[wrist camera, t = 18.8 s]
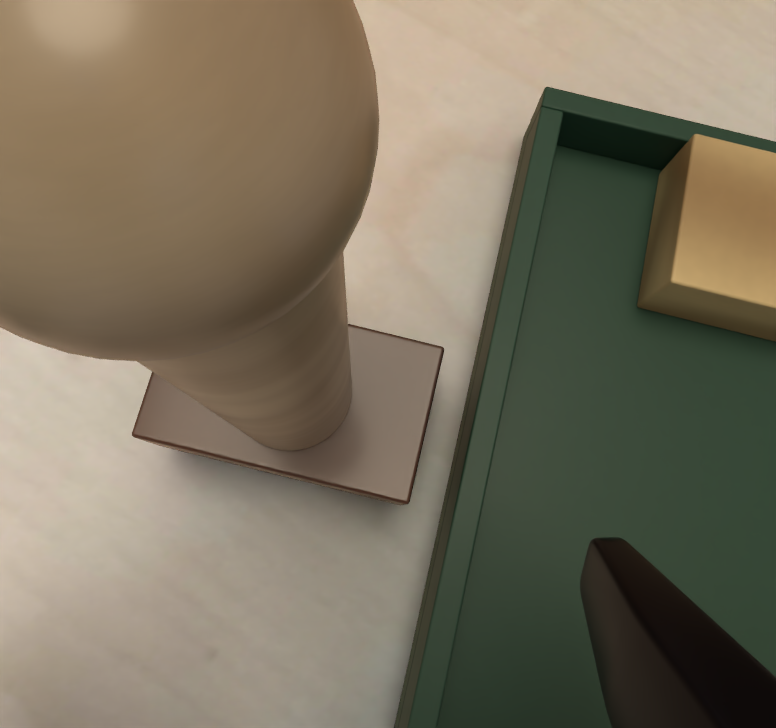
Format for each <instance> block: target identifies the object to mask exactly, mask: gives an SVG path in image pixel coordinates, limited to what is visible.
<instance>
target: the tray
mask: <svg viewBox="0 0 776 728" xmlns="http://www.w3.org/2000/svg"><path fill="white" fill-rule="evenodd" d="M694 134H699V135H703V136H707V137H712V138H716V139H720V140H724V141H728V142H732V143H736V144H740V145H744V146H748V147H752V148H756V149H761V150H765V151H769V152H773V153H776V142H774V141H770V140H766V139H762V138H758V137H753V136H749V135H745V134H741V133H737V132H733V131H729V130H724V129H720V128H716V127H712V126H708V125H704V124H700V123H695V122H691V121H687V120H683V119H679V118H675V117H671V116H666V115H662V114H658V113H654V112H650V111H646V110H642V109H637V108H633V107H629V106H625V105H621V104H617V103H613V102H608V101H604V100H600V99H596V98H592V97H588V96H584V95H579V94H575V93H571V92H567V91H563V90H559V89H554V88H550V87H546V88H545V89H544V91H543V94H542V96H541V98H540V100H539V103H538V105H537V107H536V110H535V112H534V114H533V117H532V119H531V122H530V124H529V126H528V128H527V131H526V133H525V135H524V139H523V143H522V148H521V152H520V157H519V161H518V166H517V171H516V175H515V180H514V184H513V189H512V193H511V198H510V202H509V207H508V212H507V216H506V221H505V225H504V230H503V234H502V239H501V243H500V248H499V253H498V257H497V262H496V266H495V271H494V275H493V280H492V284H491V289H490V293H489V298H488V303H487V307H486V312H485V316H484V321H483V325H482V330H481V334H480V339H479V344H478V348H477V353H476V357H475V362H474V366H473V371H472V375H471V380H470V385H469V389H468V394H467V398H466V403H465V407H464V412H463V416H462V421H461V426H460V430H459V435H458V439H457V444H456V448H455V453H454V457H453V462H452V467H451V471H450V476H449V480H448V485H447V489H446V494H445V498H444V503H443V508H442V512H441V517H440V521H439V526H438V530H437V535H436V539H435V544H434V548H433V553H432V558H431V562H430V567H429V571H428V576H427V580H426V585H425V589H424V594H423V599H422V603H421V608H420V612H419V617H418V621H417V626H416V630H415V635H414V640H413V644H412V649H411V653H410V658H409V662H408V667H407V671H406V676H405V681H404V685H403V690H402V694H401V699H400V703H399V708H398V712H397V717H396V722H395V726H394V728H612V726H611V723H610V720H609V716H608V713H607V710H606V706H605V702H604V698H603V694H602V690H601V685H600V681H599V676H598V672H597V667H596V662H595V658H594V653H593V649H592V644H591V639H590V635H589V630H588V626H587V621H586V616H585V612H584V607H583V603H582V598H581V592H580V578H581V574H582V570H583V566H584V562H585V558H586V554H587V550H588V546H589V543H590V541H591V540H592V539H594V538H602V537H620V538H622V539H624V540H626V541H627V542H628V543H629V544H631V545H632V546H633V547H634V548H635V549H636V550H637V551H638V552H639V553H640V554H642V555H643V556H644V557H645V558H646V559H647V560H648V561H649V562H650V563H651V564H652V565H654V566H655V567H656V568H657V569H658V570H659V571H660V572H661V573H662V574H663V575H665V576H666V577H667V578H668V579H669V580H670V581H671V582H672V583H673V584H674V585H676V586H677V587H678V588H679V589H680V590H681V591H682V592H683V593H684V594H685V595H687V596H688V597H689V598H690V599H691V600H692V601H693V602H694V603H695V604H696V605H697V606H699V607H700V608H701V609H702V610H703V611H704V612H705V613H706V614H707V615H708V616H710V617H711V618H712V619H713V620H714V621H715V622H716V623H717V624H718V625H719V626H721V627H722V628H723V629H724V630H725V631H726V632H727V633H728V634H729V635H730V636H731V637H733V638H734V639H735V640H736V641H737V642H738V643H739V644H740V645H741V646H742V647H744V648H745V649H746V650H747V651H748V652H749V653H750V654H751V655H752V656H753V657H755V658H756V659H757V660H758V661H759V662H760V663H761V664H762V665H763V666H764V667H766V668H767V669H768V670H769V671H770V672H771V673H772V674H773V675H774V676H775V677H776V342H775V341H771V340H767V339H763V338H759V337H755V336H751V335H747V334H743V333H739V332H735V331H731V330H727V329H723V328H719V327H715V326H711V325H707V324H703V323H699V322H695V321H691V320H687V319H683V318H679V317H675V316H671V315H667V314H663V313H659V312H655V311H651V310H647V309H643V308H639V307H637V303H638V297H639V291H640V285H641V279H642V273H643V267H644V261H645V255H646V249H647V244H648V238H649V232H650V226H651V220H652V214H653V208H654V202H655V196H656V190H657V184H658V178H659V174H660V172H661V171H662V170H663V169H664V168H665V167H666V165H667V164H668V163H669V162H670V161H671V160H672V159H673V158H674V156H675V155H676V154H677V153H678V152H679V151H680V150H681V149H682V147H683V146H684V145H685V144H686V143H687V142H688V141H689V139H690V138H691V137H692V136H693V135H694Z"/></svg>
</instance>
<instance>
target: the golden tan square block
mask: <svg viewBox="0 0 776 728" xmlns="http://www.w3.org/2000/svg"><path fill="white" fill-rule="evenodd" d="M637 307H639V308H643V309H647V310H651V311H655V312H659V313H663V314H667V315H671V316H675V317H679V318H683V319H687V320H691V321H695V322H699V323H703V324H707V325H711V326H715V327H719V328H723V329H727V330H731V331H735V332H739V333H743V334H747V335H751V336H755V337H759V338H763V339H767V340H771V341H775V342H776V153H773V152H769V151H765V150H761V149H756V148H752V147H748V146H744V145H740V144H736V143H732V142H728V141H724V140H720V139H716V138H712V137H707V136H703V135H699V134H694V135H693V136H692V137H691V138H690V139H689V141H688V142H687V143H686V144H685V145H684V146H683V147H682V149H681V150H680V151H679V152H678V153H677V154H676V155H675V156H674V158H673V159H672V160H671V161H670V162H669V163H668V164H667V165H666V167H665V168H664V169H663V170H662V171H661V172H660V174H659V178H658V184H657V190H656V196H655V202H654V208H653V214H652V220H651V226H650V232H649V238H648V244H647V249H646V255H645V261H644V267H643V273H642V279H641V285H640V291H639V297H638V303H637Z"/></svg>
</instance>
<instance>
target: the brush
mask: <svg viewBox="0 0 776 728" xmlns="http://www.w3.org/2000/svg"><path fill="white" fill-rule="evenodd" d="M378 134H379V109H378V96H377V85H376V75H375V69H374V65H373V61H372V57H371V53H370V49H369V45H368V42H367V38H366V34H365V31H364V27H363V24H362V21H361V19H360V16H359V14H358V11H357V9H356V7H355V4H354V2H353V0H0V327H1V328H3V329H5V330H7V331H9V332H11V333H13V334H15V335H17V336H19V337H22V338H25V339H27V340H30V341H33V342H35V343H38V344H41V345H44V346H47V347H51V348H54V349H57V350H60V351H63V352H66V353H70V354H76V355H82V356H87V357H93V358H98V359H109V360H126V361H137V362H139V363H140V364H142V365H143V366H145V367H146V368H148V369H149V370H151V371H152V374H151V377H150V380H149V383H148V386H147V389H146V392H145V395H144V398H143V401H142V404H141V407H140V410H139V414H138V417H137V420H136V423H135V426H134V429H133V432H132V436H133V437H135V438H138V439H141V440H144V441H147V442H150V443H153V444H156V445H159V446H163V447H167V448H171V449H175V450H179V451H183V452H187V453H191V454H195V455H199V456H203V457H208V458H212V459H216V460H220V461H224V462H228V463H232V464H236V465H240V466H244V467H248V468H252V469H256V470H260V471H264V472H268V473H272V474H276V475H280V476H284V477H288V478H292V479H296V480H300V481H304V482H309V483H313V484H317V485H321V486H325V487H329V488H333V489H337V490H341V491H345V492H349V493H353V494H357V495H361V496H365V497H369V498H373V499H377V500H381V501H385V502H389V503H393V504H397V505H404V504H408V503H409V502H410V497H411V493H412V489H413V484H414V480H415V476H416V471H417V467H418V462H419V458H420V454H421V449H422V445H423V441H424V436H425V432H426V427H427V423H428V419H429V414H430V410H431V406H432V401H433V397H434V393H435V388H436V384H437V379H438V375H439V371H440V366H441V362H442V358H443V353H444V348H443V347H441V346H437V345H433V344H429V343H425V342H420V341H416V340H412V339H408V338H404V337H400V336H396V335H392V334H388V333H384V332H380V331H375V330H371V329H367V328H363V327H359V326H355V325H351V324H348V318H347V303H346V288H345V273H344V257H343V250H344V249H345V247H346V245H347V243H348V241H349V239H350V237H351V235H352V233H353V231H354V229H355V227H356V225H357V223H358V221H359V219H360V217H361V214H362V212H363V209H364V206H365V203H366V200H367V197H368V194H369V192H370V187H371V182H372V177H373V172H374V167H375V161H376V156H377V150H378Z"/></svg>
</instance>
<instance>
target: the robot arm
mask: <svg viewBox="0 0 776 728" xmlns="http://www.w3.org/2000/svg"><path fill="white" fill-rule="evenodd" d="M580 592H581V598H582V603H583V607H584V612H585V616H586V621H587V626H588V630H589V635H590V639H591V644H592V649H593V653H594V658H595V662H596V667H597V672H598V676H599V681H600V685H601V690H602V694H603V698H604V702H605V706H606V710H607V713H608V716H609V720H610V723H611V726H612V728H776V677H775V676H774V675H773V674H772V673H771V672H770V671H769V670H768V669H767V668H766V667H764V666H763V665H762V664H761V663H760V662H759V661H758V660H757V659H756V658H755V657H753V656H752V655H751V654H750V653H749V652H748V651H747V650H746V649H745V648H744V647H742V646H741V645H740V644H739V643H738V642H737V641H736V640H735V639H734V638H733V637H731V636H730V635H729V634H728V633H727V632H726V631H725V630H724V629H723V628H722V627H721V626H719V625H718V624H717V623H716V622H715V621H714V620H713V619H712V618H711V617H710V616H708V615H707V614H706V613H705V612H704V611H703V610H702V609H701V608H700V607H699V606H697V605H696V604H695V603H694V602H693V601H692V600H691V599H690V598H689V597H688V596H687V595H685V594H684V593H683V592H682V591H681V590H680V589H679V588H678V587H677V586H676V585H674V584H673V583H672V582H671V581H670V580H669V579H668V578H667V577H666V576H665V575H663V574H662V573H661V572H660V571H659V570H658V569H657V568H656V567H655V566H654V565H652V564H651V563H650V562H649V561H648V560H647V559H646V558H645V557H644V556H643V555H642V554H640V553H639V552H638V551H637V550H636V549H635V548H634V547H633V546H632V545H631V544H629V543H628V542H627V541H626V540H624V539H622V538H620V537H602V538H594V539H592V540H591V541H590V543H589V546H588V550H587V554H586V558H585V562H584V566H583V570H582V574H581V578H580Z"/></svg>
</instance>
